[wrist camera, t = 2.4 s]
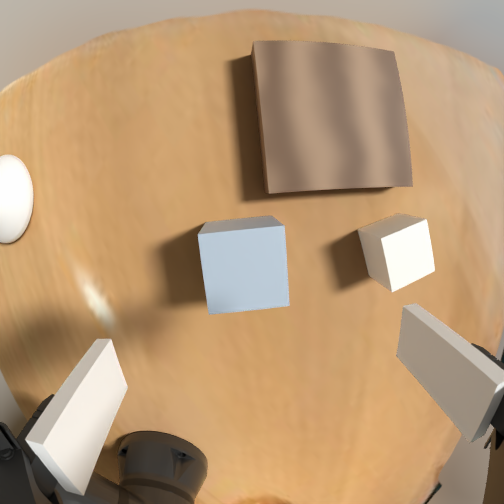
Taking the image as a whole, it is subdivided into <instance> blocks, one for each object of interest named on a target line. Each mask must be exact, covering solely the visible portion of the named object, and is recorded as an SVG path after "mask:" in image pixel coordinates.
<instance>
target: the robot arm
mask: <svg viewBox="0 0 504 504" xmlns="http://www.w3.org/2000/svg"><path fill="white" fill-rule="evenodd" d="M396 356H397V357H398V358H399V360H400V361H401V362H402V363H403V364H404V365H405V366H406V368H407V369H408V370H409V371H410V372H411V373H412V375H413V376H414V377H415V378H416V379H417V380H418V381H419V383H420V384H421V385H422V386H423V387H424V388H425V390H426V391H427V392H428V393H429V394H430V396H431V397H432V398H433V399H434V400H435V401H436V403H437V404H438V405H439V406H440V407H441V409H442V410H443V411H444V412H445V413H446V415H447V416H448V417H449V418H450V419H451V421H452V422H453V423H454V424H455V426H456V427H457V428H458V429H459V430H460V432H461V433H462V434H463V435H464V437H465V438H466V439H467V440H468V442H469V443H471V442H473V441H475V440H477V439H478V438H480V437H482V436H483V435H484V434H485V432H486V431H487V428H488V427H489V425H490V423H491V425H492V426H493V427H494V429H493V431H492V433H491V435H490V437H489V439H488V440H487V442H486V443H485V446H484V448H485V449H486V448H487V446H488V444H489V443H490V442H491V447H490V460H489V468H488V476H487V483H486V489H485V494H484V500H483V504H504V364H503V363H502V362H501V361H499V360H497V358H495V357H494V356H493V355H491V354H490V353H489V352H488V351H487V350H485V349H484V348H483V347H480V346H478V345H475V344H473V343H472V344H470V343H469V342H467V341H466V340H465V339H464V338H462V337H461V336H460V335H458V334H457V333H456V332H454V331H453V330H452V329H450V328H449V327H448V326H446V325H445V324H444V323H442V322H441V321H440V320H438V319H437V318H436V317H434V316H433V315H432V314H430V313H429V312H428V311H426V310H425V309H423V308H422V307H421V306H419V305H418V304H417V303H415V304H410V305H406V306H403V311H402V320H401V328H400V335H399V342H398V349H397V355H396ZM127 389H128V387H127V384H126V381H125V378H124V376H123V373H122V370H121V367H120V364H119V362H118V359H117V356H116V353H115V350H114V346H113V343H112V340H111V339H96V341H95V342H94V343H93V344H92V346H91V347H90V348H89V350H88V351H87V352H86V353H85V355H84V356H83V357H82V359H81V360H80V361H79V363H78V364H77V365H76V367H75V368H74V369H73V371H72V372H71V373H70V375H69V376H68V378H67V379H66V380H65V382H64V383H63V384H62V386H61V387H60V389H59V390H58V391H57V393H56V394H55V395H53V394H52V395H50V396H49V397H48V398H46V399H45V400H44V401H42V403H41V404H40V406H39V407H38V408H37V411H35V413H34V414H33V415H32V418H30V420H29V421H28V423H27V424H26V426H25V427H24V429H23V430H22V431H21V433H20V434H19V436H18V437H17V439H16V438H15V437H14V436H13V434H12V433H11V431H10V430H9V428H8V426H7V425H6V424H4V423H2V422H0V504H194V500H195V498H196V496H197V494H198V492H199V490H200V488H201V486H202V485H203V483H204V481H205V479H206V476H207V467H208V463H207V459H206V457H205V455H204V454H203V453H202V452H201V451H200V450H199V449H198V448H197V447H196V446H194V445H193V444H191V443H189V442H187V441H185V440H183V439H181V438H179V437H176V436H173V435H169V434H165V433H160V432H151V431H143V432H136V433H132V434H130V435H128V436H126V437H125V438H124V439H123V440H122V442H121V444H120V447H119V450H118V466H119V476H120V484H119V485H117V484H115V483H114V482H112V481H110V480H108V479H106V478H104V477H102V476H101V475H99V474H97V473H95V472H94V471H93V470H94V467H95V464H96V462H97V459H98V457H99V454H100V452H101V449H102V447H103V444H104V442H105V440H106V437H107V435H108V432H109V430H110V428H111V425H112V423H113V421H114V418H115V416H116V414H117V411H118V409H119V407H120V404H121V402H122V400H123V398H124V395H125V393H126V391H127Z"/></svg>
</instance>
